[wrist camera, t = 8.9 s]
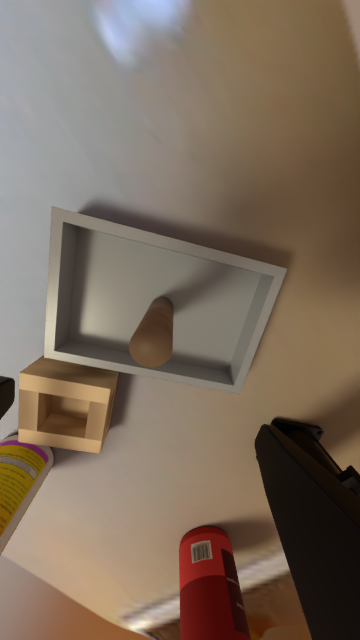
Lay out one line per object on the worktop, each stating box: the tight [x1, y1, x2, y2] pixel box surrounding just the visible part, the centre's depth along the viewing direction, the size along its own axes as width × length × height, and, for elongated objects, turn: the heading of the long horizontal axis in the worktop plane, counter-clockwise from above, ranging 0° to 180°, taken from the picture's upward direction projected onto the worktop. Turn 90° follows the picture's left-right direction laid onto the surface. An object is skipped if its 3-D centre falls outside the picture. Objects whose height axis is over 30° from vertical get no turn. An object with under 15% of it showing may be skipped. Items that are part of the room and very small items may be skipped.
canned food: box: [179, 526, 251, 640], centre depth 25 cm, size 8×8×11 cm
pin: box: [129, 297, 174, 367], centre depth 14 cm, size 2×2×9 cm
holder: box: [18, 357, 119, 454], centre depth 20 cm, size 8×8×3 cm
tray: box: [44, 206, 287, 394], centre depth 18 cm, size 18×12×3 cm, turn 76°
